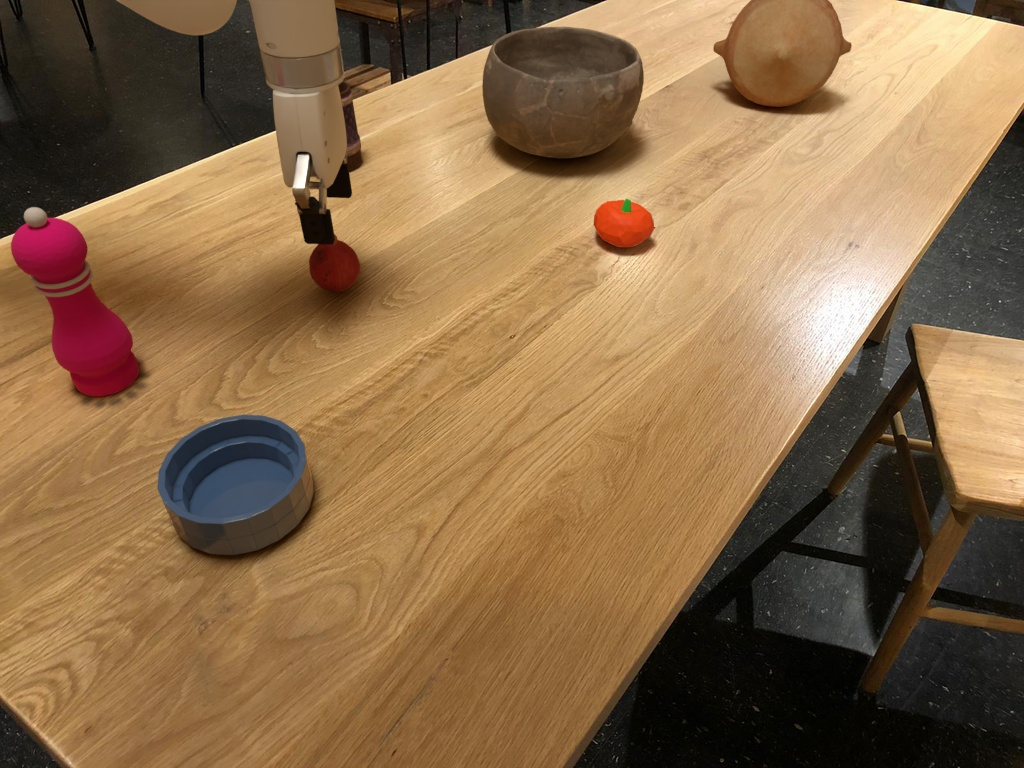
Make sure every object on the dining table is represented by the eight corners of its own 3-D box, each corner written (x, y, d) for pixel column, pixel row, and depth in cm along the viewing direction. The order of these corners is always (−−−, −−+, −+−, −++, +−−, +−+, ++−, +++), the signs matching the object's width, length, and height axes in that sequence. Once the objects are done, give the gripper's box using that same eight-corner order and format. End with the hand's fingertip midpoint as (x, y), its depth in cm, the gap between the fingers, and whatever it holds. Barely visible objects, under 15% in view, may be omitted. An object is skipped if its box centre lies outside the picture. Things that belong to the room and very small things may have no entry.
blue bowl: (152, 555, 65) (134, 519, 61) (200, 448, 74) (186, 411, 70) (296, 562, 65) (286, 526, 61) (327, 453, 73) (319, 417, 70)
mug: (333, 148, 119) (321, 71, 111) (371, 158, 117) (363, 80, 109) (293, 176, 113) (278, 96, 104) (333, 187, 111) (322, 106, 102)
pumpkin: (607, 220, 106) (612, 177, 102) (658, 239, 103) (666, 196, 98) (580, 242, 102) (584, 199, 97) (633, 263, 98) (640, 219, 94)
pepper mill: (70, 363, 82) (-13, 196, 68) (142, 347, 84) (76, 182, 70) (71, 408, 77) (-18, 237, 63) (147, 389, 79) (77, 221, 65)
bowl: (666, 158, 120) (683, 61, 110) (541, 199, 110) (547, 96, 99) (572, 103, 134) (579, 12, 124) (454, 135, 124) (451, 39, 114)
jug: (702, 39, 125) (701, 6, 149) (751, 139, 133) (743, 92, 157) (824, -34, 116) (802, -58, 140) (869, 77, 124) (841, 37, 148)
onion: (330, 312, 89) (320, 254, 84) (304, 289, 92) (293, 232, 87) (372, 293, 92) (365, 237, 87) (346, 272, 95) (338, 216, 90)
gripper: (287, 31, 80) (313, 179, 92) (238, 99, 68) (276, 261, 79) (358, 33, 80) (375, 181, 92) (322, 102, 67) (348, 264, 79)
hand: (329, 218), depth 85 cm, fingers open, 9 cm apart
